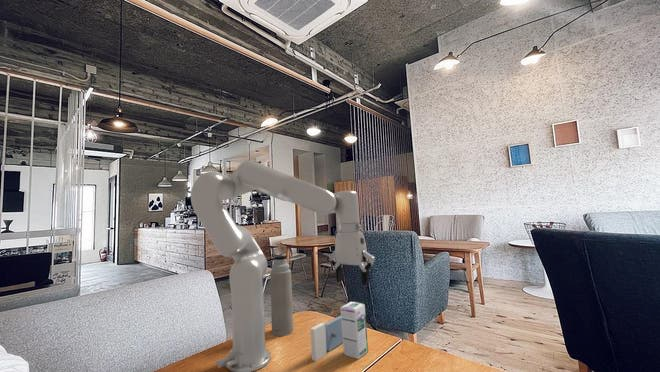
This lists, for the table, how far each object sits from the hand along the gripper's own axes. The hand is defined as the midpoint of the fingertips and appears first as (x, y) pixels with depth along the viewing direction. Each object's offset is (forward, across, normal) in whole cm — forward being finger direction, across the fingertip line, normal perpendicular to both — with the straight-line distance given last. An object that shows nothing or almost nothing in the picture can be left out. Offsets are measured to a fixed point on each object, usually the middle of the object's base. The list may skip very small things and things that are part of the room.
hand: (352, 282), depth 87 cm
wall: (+21, +8, 0) cm, 23 cm away
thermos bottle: (+21, +32, +2) cm, 39 cm away
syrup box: (+21, 0, +1) cm, 21 cm away
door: (+21, +8, -2) cm, 22 cm away
